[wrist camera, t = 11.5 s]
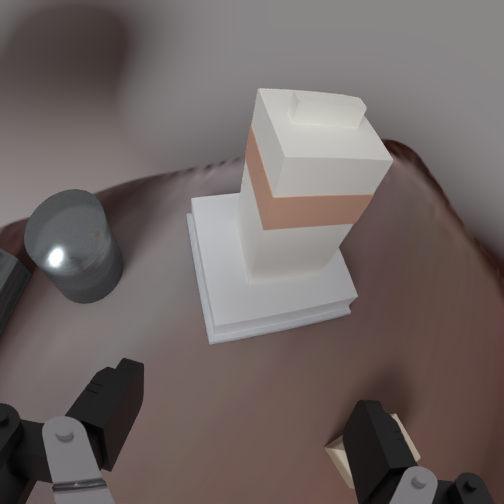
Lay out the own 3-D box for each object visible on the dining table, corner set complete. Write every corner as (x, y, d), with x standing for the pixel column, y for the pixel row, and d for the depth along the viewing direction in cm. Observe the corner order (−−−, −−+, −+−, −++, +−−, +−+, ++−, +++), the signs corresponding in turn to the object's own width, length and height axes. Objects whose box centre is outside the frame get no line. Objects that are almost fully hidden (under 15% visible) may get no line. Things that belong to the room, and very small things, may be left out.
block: (348, 487, 17) (374, 496, 13) (323, 447, 18) (346, 450, 15) (390, 455, 18) (420, 457, 15) (367, 416, 20) (395, 413, 16)
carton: (247, 284, 21) (291, 133, 10) (234, 221, 23) (260, 66, 13) (319, 276, 22) (406, 141, 11) (300, 216, 24) (357, 77, 14)
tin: (54, 307, 21) (18, 272, 15) (58, 241, 23) (31, 197, 18) (125, 298, 22) (103, 259, 17) (122, 231, 25) (105, 183, 20)
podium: (209, 344, 21) (209, 333, 19) (186, 218, 26) (185, 194, 24) (347, 314, 24) (364, 300, 21) (306, 204, 29) (315, 183, 26)
